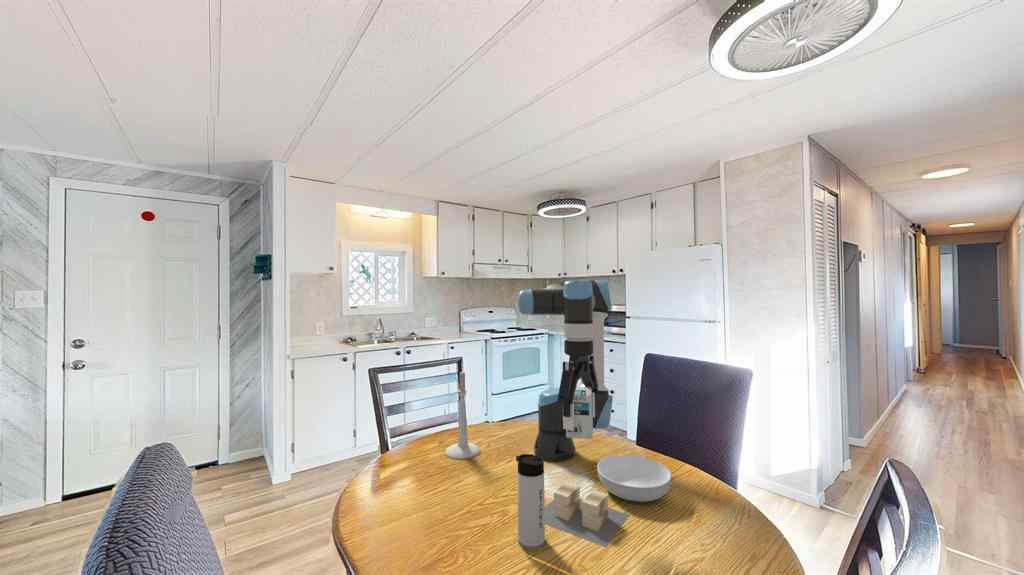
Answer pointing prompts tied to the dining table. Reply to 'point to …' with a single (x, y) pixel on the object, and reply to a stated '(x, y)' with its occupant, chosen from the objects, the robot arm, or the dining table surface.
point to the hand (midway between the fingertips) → (579, 422)
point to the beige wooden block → (566, 501)
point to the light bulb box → (582, 414)
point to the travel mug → (531, 501)
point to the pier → (595, 510)
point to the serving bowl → (634, 477)
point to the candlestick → (462, 431)
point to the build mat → (577, 529)
